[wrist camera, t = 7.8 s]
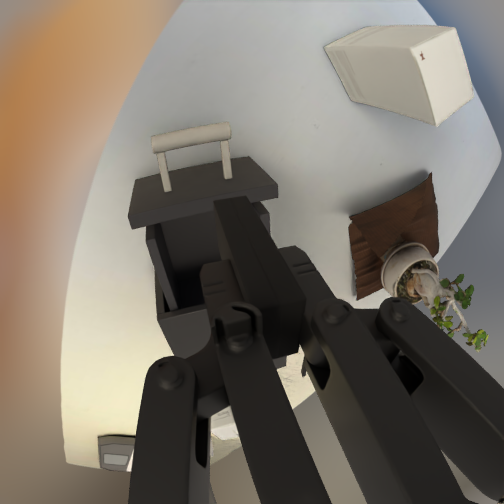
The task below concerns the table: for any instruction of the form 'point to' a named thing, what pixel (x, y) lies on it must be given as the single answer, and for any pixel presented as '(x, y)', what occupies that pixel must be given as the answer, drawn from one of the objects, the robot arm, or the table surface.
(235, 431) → the ink box
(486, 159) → the table surface
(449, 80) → the white packaging box
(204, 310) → the dark drawer cabinet
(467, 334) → the potted plant
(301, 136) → the table surface
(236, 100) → the table surface
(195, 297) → the drawer
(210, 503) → the grey document camera stand
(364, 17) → the table surface
